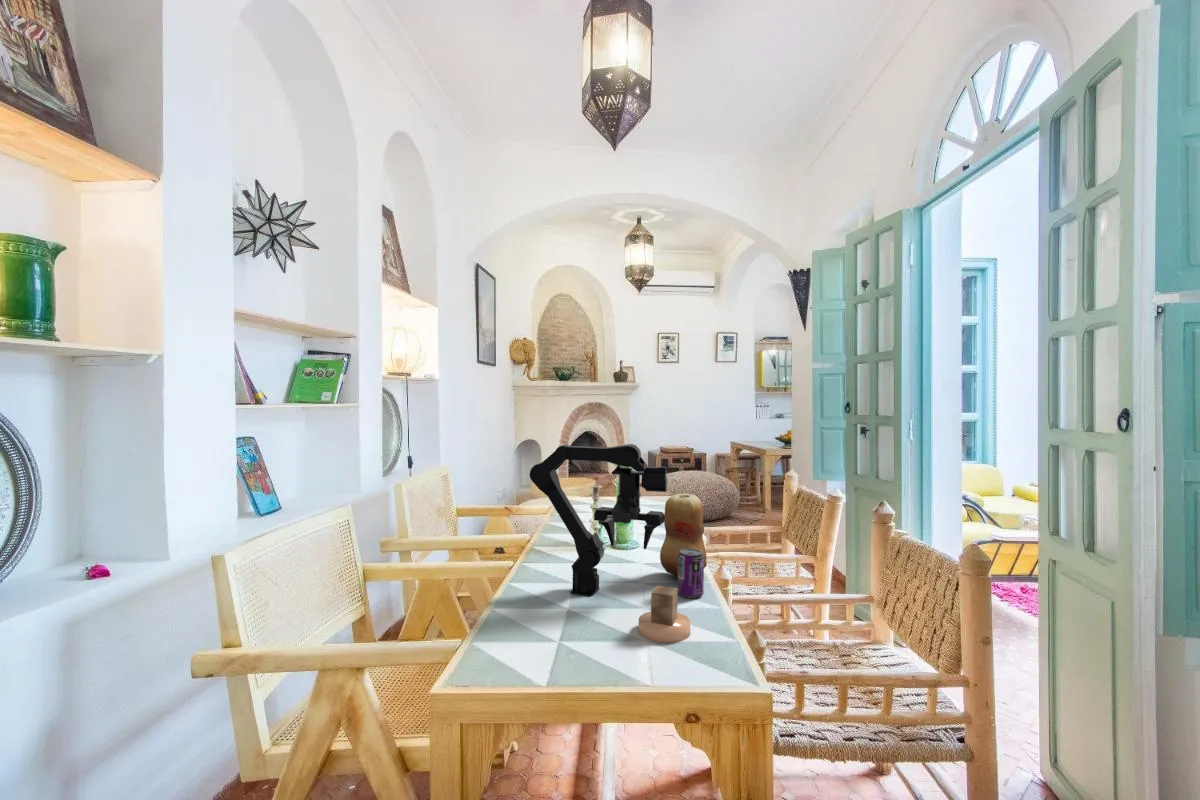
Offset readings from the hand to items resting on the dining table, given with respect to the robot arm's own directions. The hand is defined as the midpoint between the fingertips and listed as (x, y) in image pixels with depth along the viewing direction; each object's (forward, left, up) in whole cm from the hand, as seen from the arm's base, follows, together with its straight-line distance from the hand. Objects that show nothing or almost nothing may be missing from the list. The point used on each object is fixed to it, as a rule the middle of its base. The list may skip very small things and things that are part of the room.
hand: (628, 547), depth 158 cm
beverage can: (+16, +6, -13) cm, 22 cm away
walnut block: (+15, -20, -10) cm, 27 cm away
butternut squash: (+11, +20, -13) cm, 26 cm away
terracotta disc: (+15, -20, -14) cm, 28 cm away
